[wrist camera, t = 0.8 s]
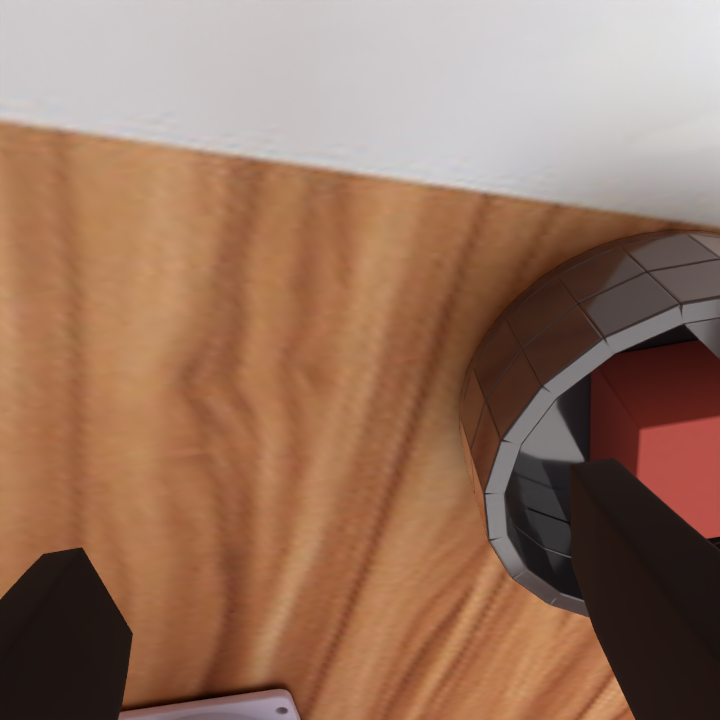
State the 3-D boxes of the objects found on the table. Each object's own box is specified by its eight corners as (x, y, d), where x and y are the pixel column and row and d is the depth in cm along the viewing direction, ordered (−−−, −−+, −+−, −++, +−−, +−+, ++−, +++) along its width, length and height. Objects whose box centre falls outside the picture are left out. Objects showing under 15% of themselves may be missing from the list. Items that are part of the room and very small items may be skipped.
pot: (783, 499, 23) (864, 591, 20) (472, 547, 24) (498, 645, 20) (855, 194, 17) (986, 250, 14) (441, 268, 18) (468, 339, 14)
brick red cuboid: (686, 453, 21) (746, 533, 18) (588, 469, 21) (631, 551, 18) (700, 338, 19) (771, 408, 16) (590, 357, 19) (639, 429, 16)
